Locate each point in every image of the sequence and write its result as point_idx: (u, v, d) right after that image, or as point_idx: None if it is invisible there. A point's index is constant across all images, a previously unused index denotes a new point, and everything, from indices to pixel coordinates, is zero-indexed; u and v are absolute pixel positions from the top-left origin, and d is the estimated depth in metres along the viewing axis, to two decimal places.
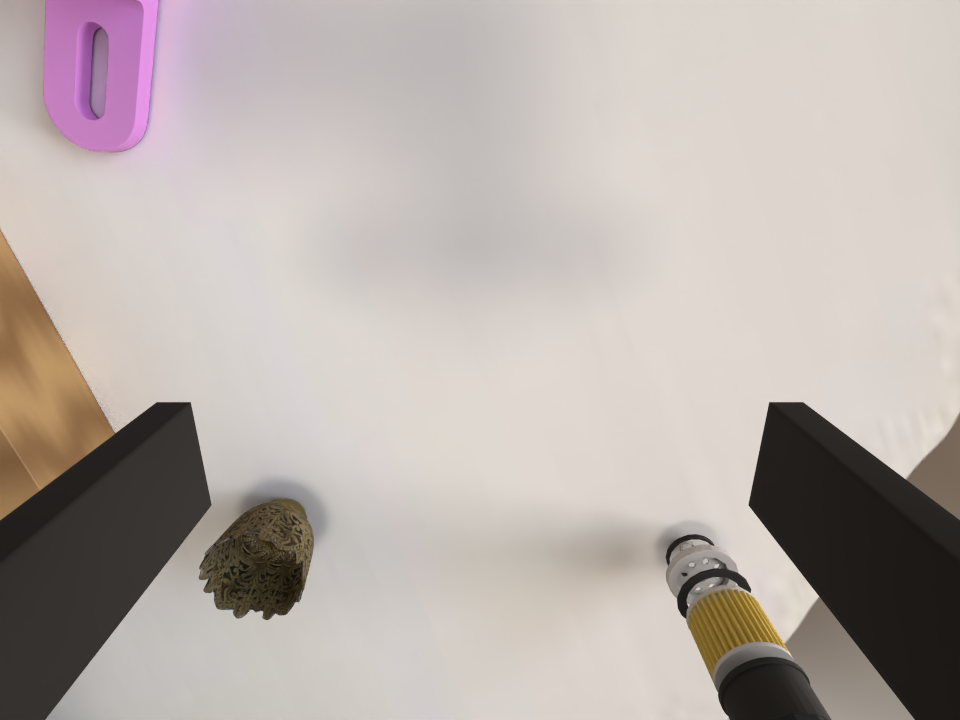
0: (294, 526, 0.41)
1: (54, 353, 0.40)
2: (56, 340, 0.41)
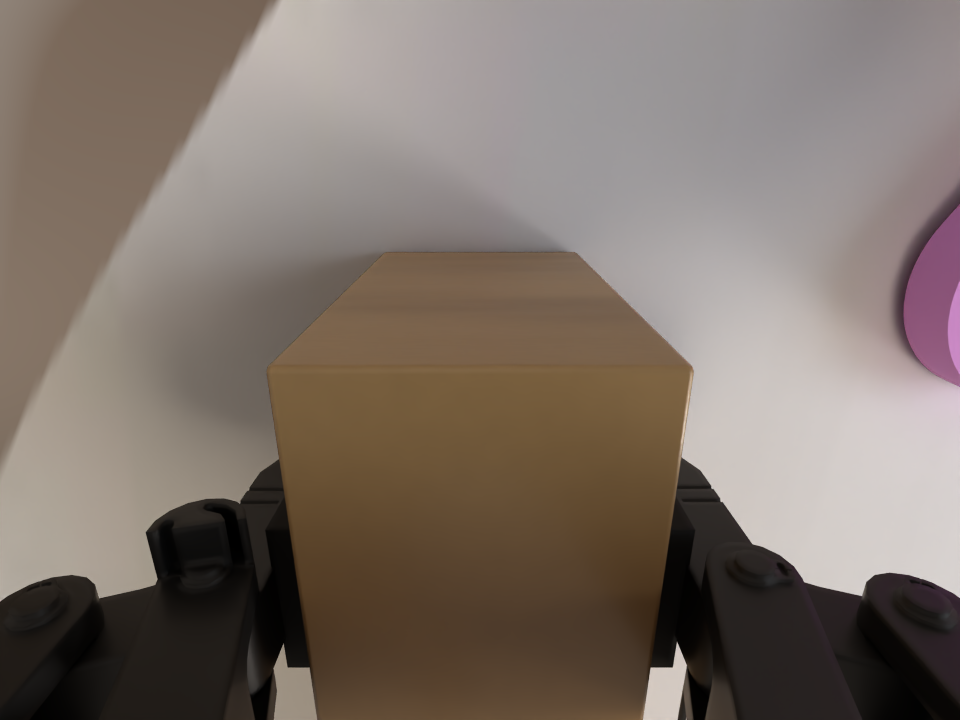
0: None
1: None
2: None
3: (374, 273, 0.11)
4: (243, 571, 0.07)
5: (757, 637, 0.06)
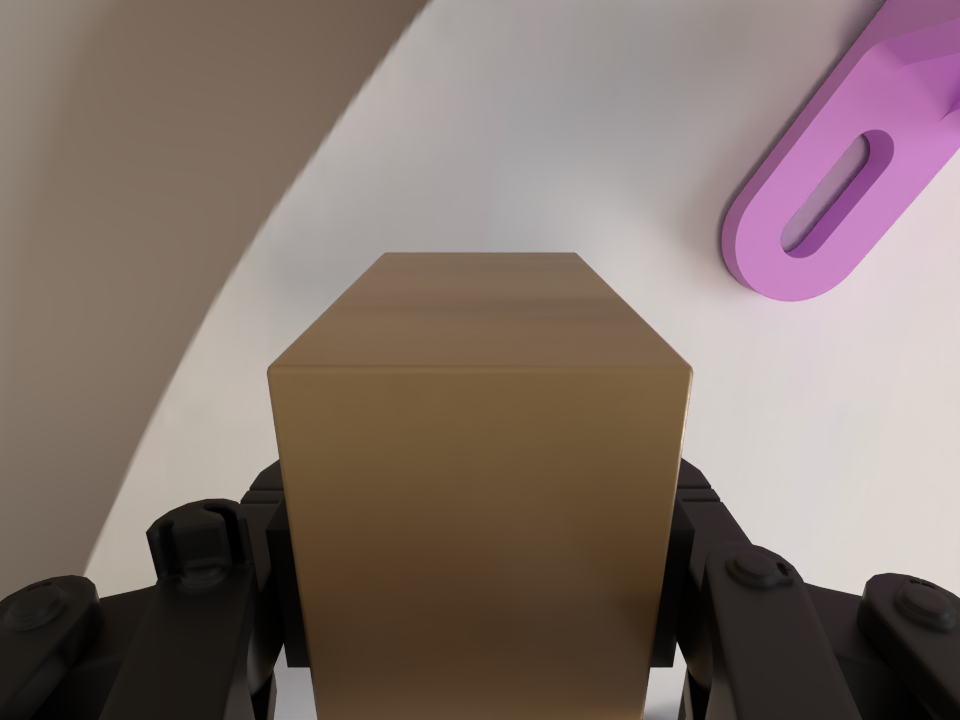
0: None
1: None
2: None
3: (374, 273, 0.11)
4: (243, 571, 0.07)
5: (757, 637, 0.06)
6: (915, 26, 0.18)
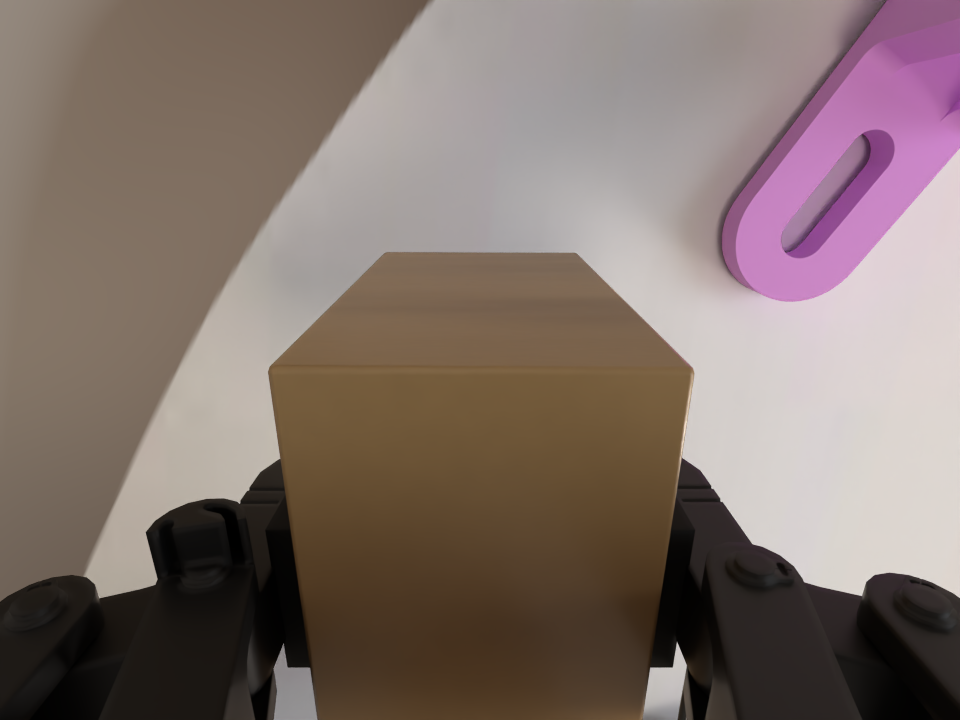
0: None
1: None
2: None
3: (375, 273, 0.11)
4: (243, 571, 0.07)
5: (757, 637, 0.06)
6: (916, 26, 0.18)
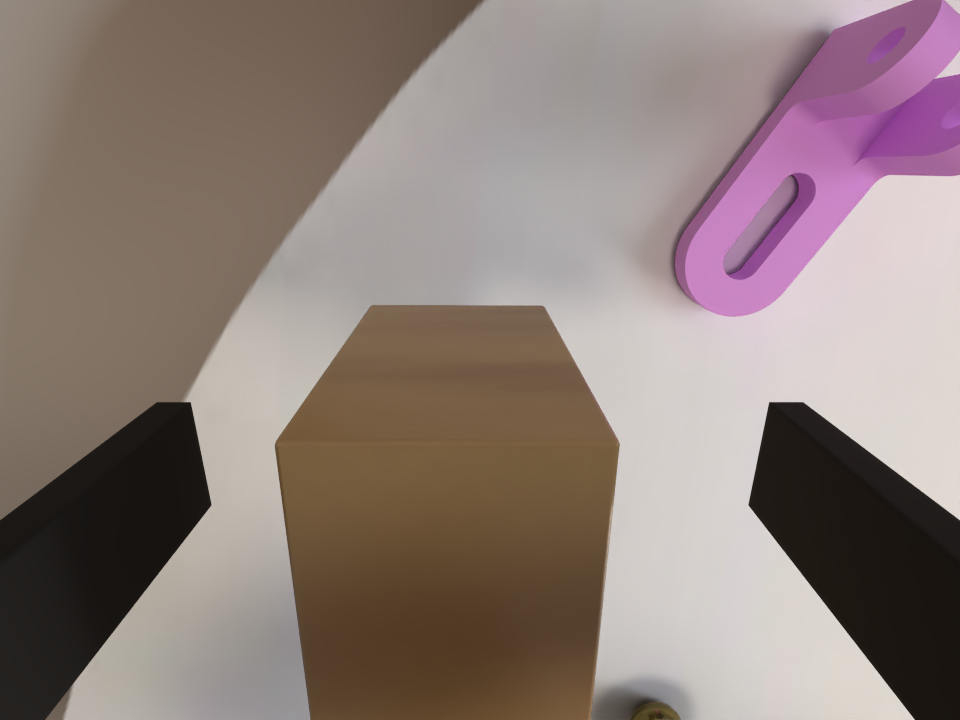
0: None
1: None
2: None
3: (362, 332, 0.12)
4: None
5: None
6: (823, 93, 0.22)
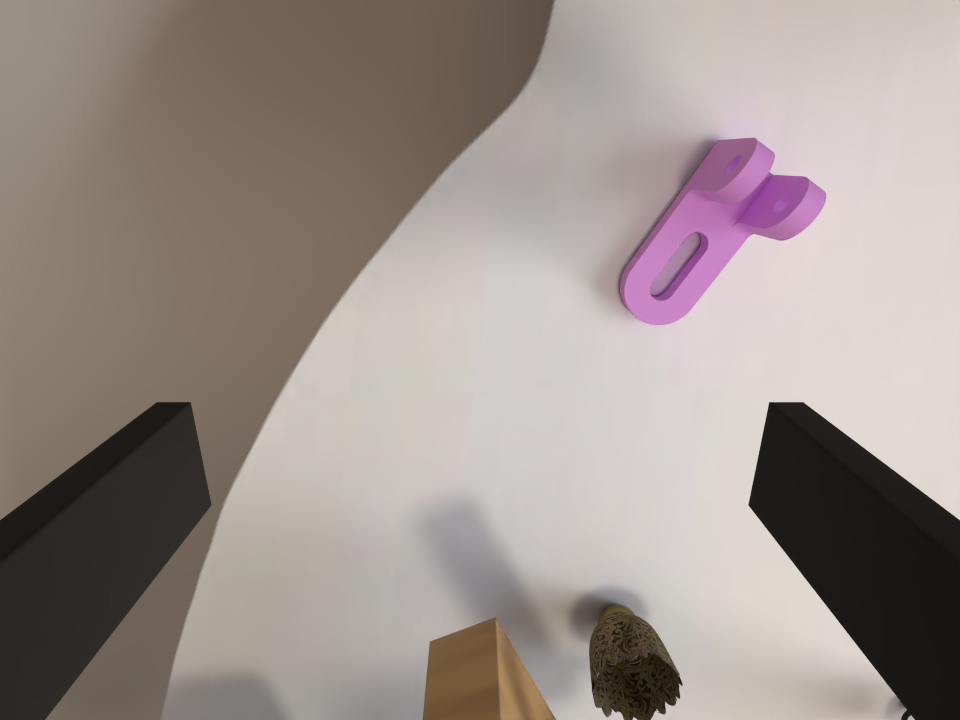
0: None
1: None
2: None
3: (430, 676, 0.33)
4: None
5: None
6: (703, 187, 0.36)
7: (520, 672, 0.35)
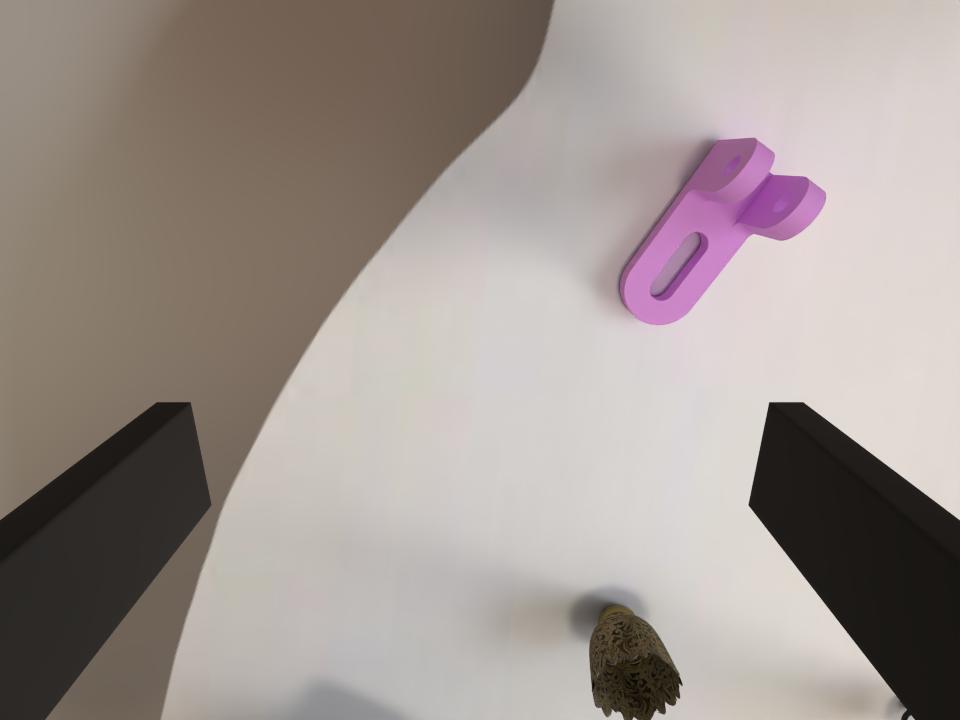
0: None
1: None
2: None
3: None
4: None
5: None
6: (703, 187, 0.36)
7: None
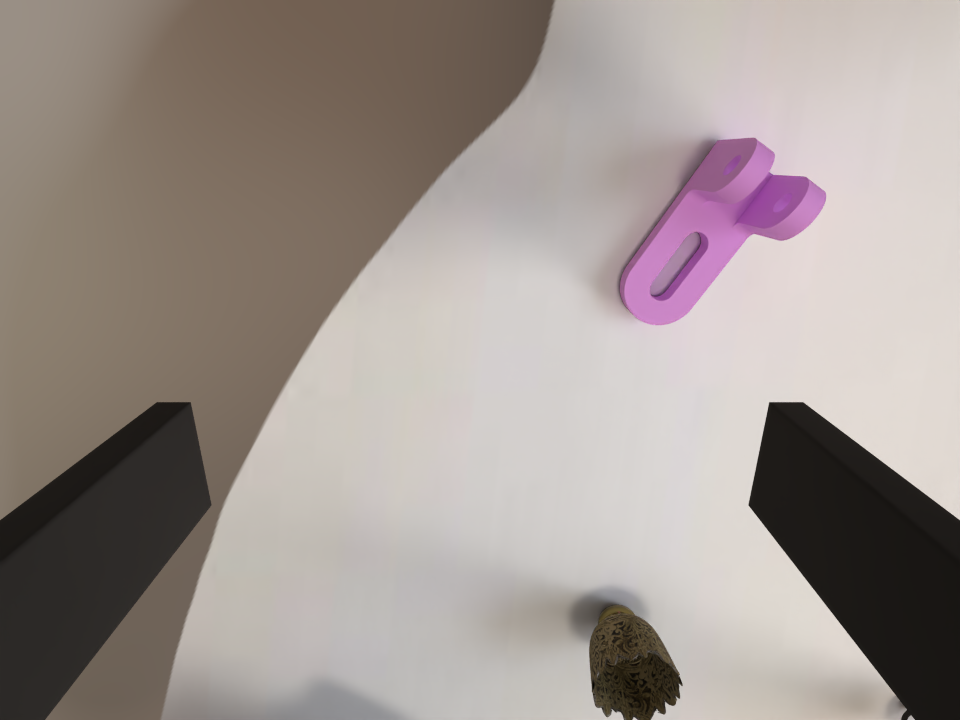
0: None
1: None
2: None
3: None
4: None
5: None
6: (703, 187, 0.36)
7: None
